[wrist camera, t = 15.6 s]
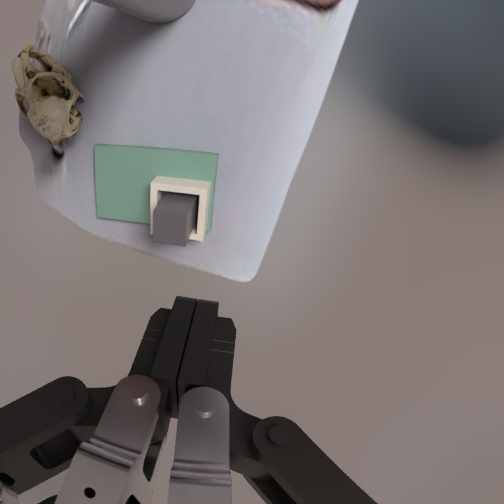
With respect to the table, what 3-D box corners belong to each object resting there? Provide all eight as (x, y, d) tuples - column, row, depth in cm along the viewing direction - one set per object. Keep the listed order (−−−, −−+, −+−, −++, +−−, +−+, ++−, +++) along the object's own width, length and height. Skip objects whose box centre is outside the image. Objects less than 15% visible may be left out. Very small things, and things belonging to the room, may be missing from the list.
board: (97, 144, 42) (94, 145, 41) (218, 153, 43) (217, 155, 42) (100, 214, 48) (97, 217, 47) (210, 229, 49) (209, 232, 48)
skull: (69, 23, 30) (31, 37, 23) (108, 107, 41) (80, 137, 34) (26, 53, 31) (-13, 74, 25) (64, 128, 43) (34, 160, 36)
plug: (169, 188, 44) (152, 211, 38) (199, 192, 45) (187, 215, 38) (168, 219, 47) (153, 245, 40) (196, 223, 47) (185, 250, 40)
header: (157, 175, 43) (150, 182, 41) (211, 181, 44) (207, 189, 41) (156, 224, 47) (150, 233, 45) (206, 231, 48) (203, 241, 45)
